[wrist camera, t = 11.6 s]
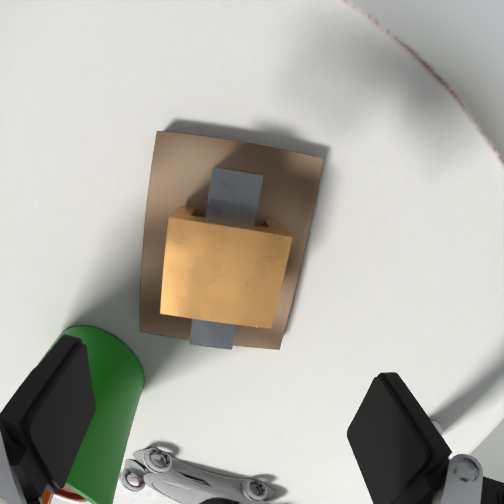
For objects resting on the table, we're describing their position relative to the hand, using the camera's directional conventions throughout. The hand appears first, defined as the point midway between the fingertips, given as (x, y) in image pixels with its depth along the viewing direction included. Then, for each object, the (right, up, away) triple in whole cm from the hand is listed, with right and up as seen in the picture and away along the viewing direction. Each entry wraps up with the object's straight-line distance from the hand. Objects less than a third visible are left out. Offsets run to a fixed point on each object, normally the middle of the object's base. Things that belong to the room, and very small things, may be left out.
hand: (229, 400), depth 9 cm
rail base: (-2, +5, +15) cm, 16 cm away
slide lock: (-1, +4, +13) cm, 14 cm away
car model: (-6, -29, +26) cm, 40 cm away
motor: (-15, -7, +18) cm, 24 cm away
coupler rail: (-1, +5, +14) cm, 15 cm away
